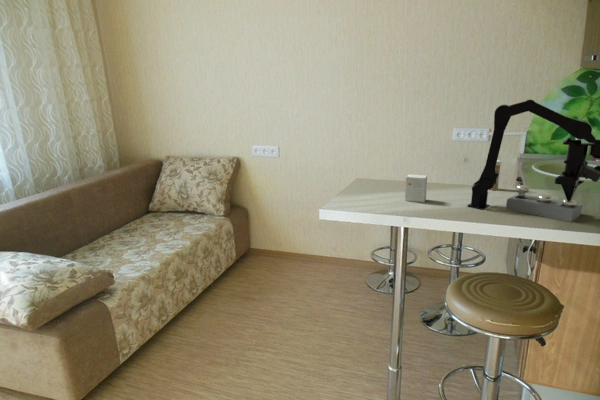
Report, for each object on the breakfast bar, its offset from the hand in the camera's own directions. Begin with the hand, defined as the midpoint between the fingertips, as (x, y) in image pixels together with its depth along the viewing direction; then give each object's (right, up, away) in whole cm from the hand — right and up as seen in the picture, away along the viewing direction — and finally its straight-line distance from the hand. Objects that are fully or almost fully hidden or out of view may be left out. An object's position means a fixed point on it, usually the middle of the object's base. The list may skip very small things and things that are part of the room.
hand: (569, 200), depth 147 cm
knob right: (0, -5, +1) cm, 5 cm away
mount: (-5, -4, +7) cm, 10 cm away
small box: (-48, 0, +26) cm, 55 cm away
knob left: (-11, +1, +12) cm, 16 cm away
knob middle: (-5, -3, +7) cm, 9 cm away
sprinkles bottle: (-8, +5, +42) cm, 43 cm away
